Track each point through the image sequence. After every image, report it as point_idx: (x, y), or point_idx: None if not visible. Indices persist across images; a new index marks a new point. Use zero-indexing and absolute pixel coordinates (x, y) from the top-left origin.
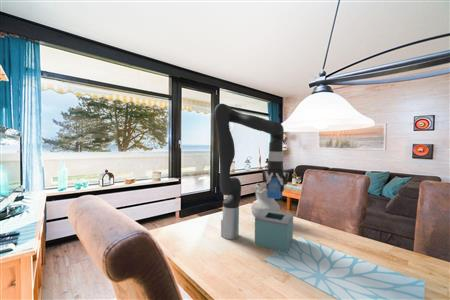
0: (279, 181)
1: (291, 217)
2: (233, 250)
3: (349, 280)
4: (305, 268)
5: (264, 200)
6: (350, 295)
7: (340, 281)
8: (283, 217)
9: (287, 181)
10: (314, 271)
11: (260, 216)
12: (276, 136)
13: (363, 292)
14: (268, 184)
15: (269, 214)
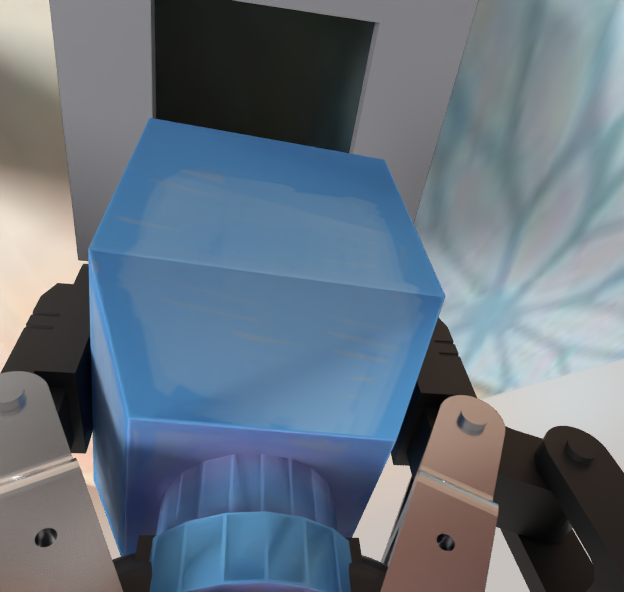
0: (378, 478)
1: (454, 76)
2: (41, 266)
3: (609, 303)
4: (442, 288)
5: None
6: (564, 375)
7: (567, 321)
8: (361, 132)
9: (613, 499)
10: (479, 295)
11: (110, 194)
12: None
13: (621, 349)
14: (103, 503)
15: None
